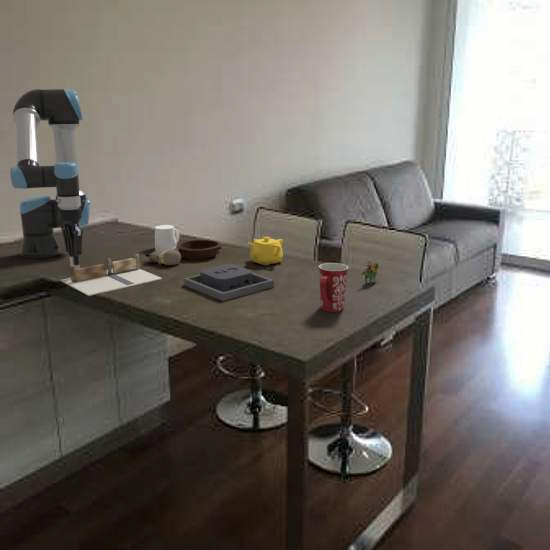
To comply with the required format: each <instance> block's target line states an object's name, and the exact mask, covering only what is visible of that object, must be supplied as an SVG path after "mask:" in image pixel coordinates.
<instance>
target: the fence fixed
mask: <svg viewBox="0 0 550 550" xmlns="http://www.w3.org/2000/svg"><path fill="white" fill-rule="evenodd" d="M140 267H141V266H140V255H139V253H134V254H133V257H130V258H125V259H121V260H114V261H112V260H111V258H108V257H107V258H106V269H107V270H108V275H112V270H113V273H119V272H123V271H128V270H133V269H141V268H140Z"/></svg>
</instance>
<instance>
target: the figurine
mask: <svg viewBox="0 0 550 550" xmlns="http://www.w3.org/2000/svg"><path fill="white" fill-rule="evenodd" d="M369 263H370V264H369ZM366 267H367V268H364V271H361V273H360V276H361V275H362V276H364V280H365V284H369V285H372V284H371V282H372V281H373V282H374V281H376V277H377V275H379V273H378V269H380V267H379V263H378V262H374V263H373V264H372V262H371V261H367V265H366ZM368 278H369V282H368ZM371 280H372V281H371ZM367 282H368V283H367Z"/></svg>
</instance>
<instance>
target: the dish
mask: <svg viewBox="0 0 550 550" xmlns="http://www.w3.org/2000/svg"><path fill="white" fill-rule="evenodd" d="M176 245H177V246H176V248H177V249H178V250H177V251H178V252H179V253H180V255H181V259H182V258H183V259H188V260H205V259H207V260H208V259H211V258H213V257H215V256H216V255H217V254H218V253H219V251H220V250H222V243H221V242H219V241H216V240H212V239H211V240H210V239H190V240H185V241H182V242H179V243H177V244H176Z"/></svg>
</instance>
